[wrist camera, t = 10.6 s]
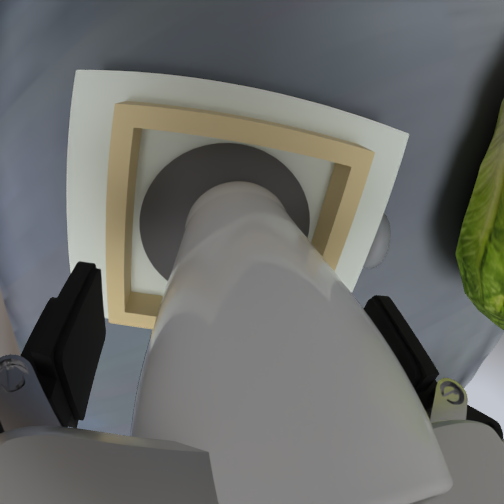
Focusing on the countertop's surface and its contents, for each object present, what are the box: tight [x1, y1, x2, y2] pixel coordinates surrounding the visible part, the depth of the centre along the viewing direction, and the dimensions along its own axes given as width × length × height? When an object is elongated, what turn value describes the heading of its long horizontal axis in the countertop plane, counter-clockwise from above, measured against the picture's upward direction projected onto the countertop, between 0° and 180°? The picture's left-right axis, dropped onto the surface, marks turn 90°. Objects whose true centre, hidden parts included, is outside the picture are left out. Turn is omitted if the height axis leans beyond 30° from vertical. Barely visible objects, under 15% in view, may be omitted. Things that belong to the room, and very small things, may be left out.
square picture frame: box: [67, 70, 409, 329], centre depth 18 cm, size 15×19×6 cm
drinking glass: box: [130, 181, 453, 504], centre depth 11 cm, size 7×7×15 cm
